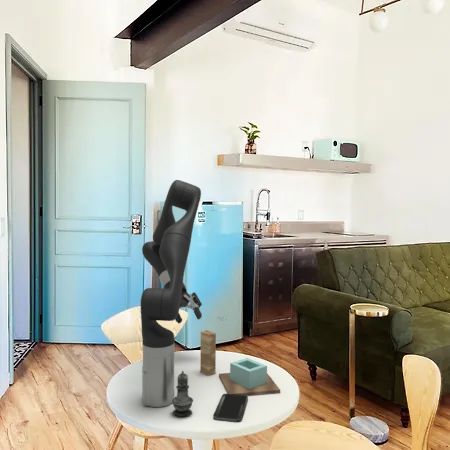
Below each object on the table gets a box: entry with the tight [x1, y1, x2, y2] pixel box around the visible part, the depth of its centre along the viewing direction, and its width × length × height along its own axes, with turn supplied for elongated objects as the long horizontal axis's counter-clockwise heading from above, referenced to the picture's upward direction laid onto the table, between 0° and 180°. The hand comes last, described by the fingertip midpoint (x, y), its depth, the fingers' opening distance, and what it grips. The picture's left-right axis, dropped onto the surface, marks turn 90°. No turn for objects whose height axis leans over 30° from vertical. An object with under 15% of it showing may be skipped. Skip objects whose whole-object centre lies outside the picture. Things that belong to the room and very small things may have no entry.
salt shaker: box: [171, 370, 194, 419], centre depth 125 cm, size 6×6×12 cm
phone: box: [212, 393, 249, 423], centre depth 128 cm, size 8×1×15 cm
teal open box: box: [229, 357, 268, 389], centre depth 144 cm, size 8×9×6 cm
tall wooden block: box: [199, 329, 217, 377], centre depth 154 cm, size 3×4×14 cm, turn 40°
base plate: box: [218, 372, 281, 397], centre depth 145 cm, size 16×16×1 cm
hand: (190, 320), depth 161 cm, fingers open, 8 cm apart
